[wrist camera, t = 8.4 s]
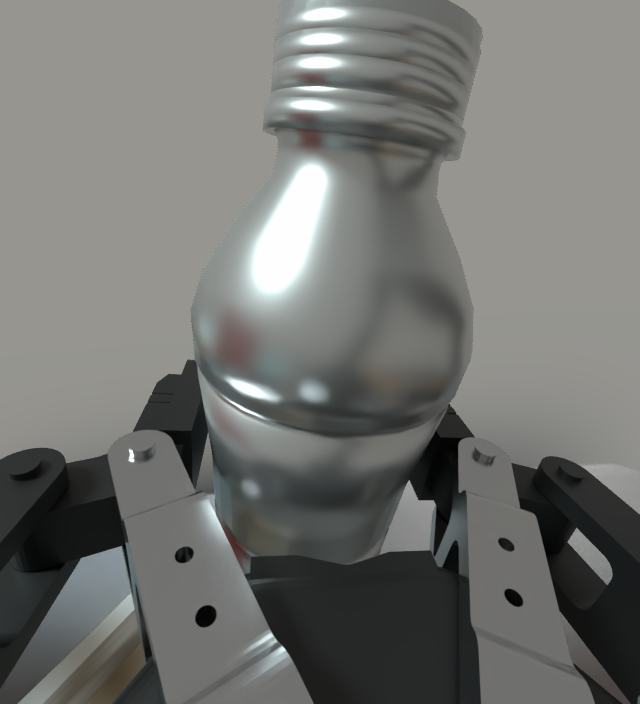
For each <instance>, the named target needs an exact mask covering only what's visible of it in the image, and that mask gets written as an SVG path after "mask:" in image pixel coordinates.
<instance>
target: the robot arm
mask: <svg viewBox="0 0 640 704" xmlns="http://www.w3.org/2000/svg"><path fill="white" fill-rule="evenodd" d="M207 434H208V427H207V422H206V416H205V411H204V405H203V400H202V394H201V389H200V383H199V378H198V370H197V363H196V361H195V360H187V362H186V365H185V367H184V370H183V372H182V374H181V375H177V374H168V375H167V376H166V377H164V378H163V379H161V380H160V381H159V382H157V384H156V386H155V388H154V390H153V392H152V395H151V396H150V398H149V400H148V403H147V404H146V406H145V408H144V410H143V412H142V414H141V416H140V418H139V420H138V423H137V424H136V427H135V428H134V430H133V432H132V433H129V434H127V435H124V436H123V437H121V438H119V439H118V440H116V441H115V442H114V443H113V444H112V445H111V447H110V449H109V451H108V454H106V455H103V456H100V457H96V458H92V459H86V460H82V461H76V462H71V463H66V462H65V458H64V456H63V455H62V454H61V453H60V452H59V451H57V450H54V449H49V448H33V449H28V450H23V451H20V452H16V453H14V454H11V455H9V456H6V457H5V458H3V459H1V460H0V689H1V687H2V685H3V684H4V682H5V680H6V679H7V677H8V676H9V674H10V672H11V671H12V669H13V668H14V666H15V664H16V663H17V661H18V659H19V658H20V656H21V655H22V653H23V651H24V650H25V648H26V646H27V645H28V643H29V642H30V640H31V638H32V637H33V635H34V634H35V632H36V630H37V629H38V627H39V625H40V624H41V622H42V621H43V619H44V617H45V616H46V614H47V612H48V611H49V609H50V608H51V606H52V604H53V603H54V601H55V599H56V598H57V596H58V595H59V593H60V591H61V590H62V588H63V587H64V585H65V583H66V582H67V580H68V578H69V577H70V575H71V574H72V572H73V570H74V569H75V567H76V565H77V564H78V562H79V561H80V559H81V558H82V557H86V556H89V555H92V554H96V553H99V552H102V551H106V550H109V549H112V548H116V547H119V546H122V551H123V556H124V561H125V566H126V570H127V575H128V580H129V585H130V589H131V594H132V599H133V604H134V609H135V614H136V619H137V625H138V631H139V636H140V641H141V647H142V652H143V656H144V661H145V665H144V667H143V668H142V669H141V670H140V671H139V673H138V674H137V675H136V676H135V677H134V678H133V680H132V681H131V682H130V683H129V684H128V686H127V687H126V688H125V689H124V690H123V692H122V693H121V694H120V695H119V696H118V697H117V699H116V700H115V701H114V702H113V703H112V704H622V703H621V702H619V701H618V700H617V699H616V698H615V697H613V696H612V695H611V694H610V693H609V692H607V691H606V690H605V689H604V688H602V687H601V686H600V685H599V684H598V683H596V682H595V681H594V680H593V679H592V678H590V677H589V676H588V675H587V674H586V673H584V672H583V671H582V670H581V669H580V668H578V667H577V666H576V665H575V664H574V663H572V660H571V657H570V653H569V649H568V644H567V640H566V636H565V632H564V628H563V624H562V620H561V616H560V612H561V613H562V614H563V616H564V617H565V618H566V620H567V621H568V622H569V624H570V625H571V626H572V628H573V629H574V630H575V631H576V633H577V634H578V635H579V637H580V638H581V639H582V641H583V642H584V643H585V644H586V646H587V647H588V648H589V650H590V651H591V652H592V654H593V655H594V656H595V657H596V659H597V660H598V661H599V663H600V664H601V665H602V667H603V668H604V669H605V670H606V672H607V673H608V674H609V676H610V677H611V678H612V680H613V681H614V682H615V683H616V685H617V686H618V687H619V689H620V690H621V691H622V693H623V694H624V695H625V697H626V698H627V699H628V700H629V702H630V703H631V704H640V514H638V513H637V512H636V511H635V510H634V509H632V508H631V507H630V506H629V505H628V504H626V503H625V502H624V501H623V500H622V499H620V498H619V497H618V496H617V495H616V494H614V493H613V492H612V491H611V490H610V489H608V488H607V487H606V486H605V485H604V484H602V483H601V482H600V481H599V480H598V479H596V478H595V477H594V476H593V475H592V474H590V473H589V472H588V471H587V470H585V469H584V468H582V467H581V466H579V465H577V464H576V463H573V462H571V461H569V460H566V459H563V458H559V457H553V456H549V457H545V458H543V459H542V461H541V463H540V464H539V466H538V468H537V469H534V468H530V467H525V466H521V465H517V464H513V463H511V460H510V458H509V456H508V455H507V454H506V453H505V452H504V451H503V450H502V449H501V448H500V447H498V446H496V445H495V444H493V443H491V442H489V441H486V440H483V439H480V438H475V437H474V435H473V434H472V433H471V432H470V430H469V429H468V428H467V426H466V425H465V424H464V422H463V421H462V420H461V418H460V417H459V416H458V415H456V412H455V411H454V409H453V408H452V407H450V404H449V405H448V409H447V411H446V413H445V414H444V416H443V418H442V420H441V422H440V424H439V425H438V427H437V429H436V431H435V433H434V435H433V437H432V438H431V440H430V442H429V444H428V446H427V448H426V449H425V451H424V453H423V455H422V457H421V459H420V460H419V462H418V464H417V466H416V468H415V470H414V471H413V473H412V475H411V477H410V479H409V480H410V482H411V484H412V486H413V489H414V491H415V493H416V495H417V497H418V500H434V502H435V504H436V505H435V508H434V511H433V514H432V524H431V537H430V549H429V551H402V552H388V553H385V554H382V555H378V556H375V557H372V558H369V559H366V560H363V561H360V562H357V563H354V564H350V565H343V564H338V563H333V562H329V561H324V560H319V559H315V558H310V557H305V556H300V555H284V556H254V557H251V563H250V573H247V574H244V573H243V571H242V569H241V567H240V565H239V563H238V560H237V558H236V556H235V554H234V552H233V550H232V548H231V546H230V543H229V541H228V539H227V537H226V535H225V533H224V531H223V529H222V527H221V524H220V522H219V520H218V518H217V516H216V514H215V512H214V510H213V507H212V505H211V503H210V501H209V499H208V497H207V495H206V494H205V493H204V491H199V492H196V491H195V489H196V485H197V480H198V476H199V471H200V466H201V462H202V457H203V453H204V448H205V443H206V439H207ZM576 527H577V528H578V529H579V530H580V531H581V532H582V533H583V534H584V535H585V536H586V538H587V539H588V540H589V541H590V542H591V543H592V544H593V545H594V546H595V547H596V548H597V549H598V550H599V551H600V552H601V553H602V554H603V555H604V556H605V557H606V558H607V560H608V561H609V563H610V565H611V568H612V572H613V577H612V580H611V581H610V583H609V584H608V585H606V584H605V583H604V581H603V580H602V579H601V578H600V577H599V576H598V575H597V574H596V573H595V572H594V571H593V570H592V569H591V567H590V566H589V565H588V564H587V563H586V562H585V561H584V560H583V559H582V558H581V557H580V556H579V554H578V553H577V552H576V551H575V550H574V549H573V548H572V547H571V546H570V545H569V544H568V543H567V542H568V540H569V539H570V537H571V535H572V534H573V532H574V531H575V529H576ZM559 611H560V612H559Z"/></svg>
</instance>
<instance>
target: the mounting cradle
mask: <svg viewBox="0 0 640 704" xmlns="http://www.w3.org/2000/svg"><path fill="white" fill-rule="evenodd" d="M144 665H145V661H144V656H143V652H142V647H141V641H140V636H139V631H138V625H137V619H136V614H135V609H134V604H133V599H132V594H131V593H130V594H129V595H128V596H127V597H126V598H125V599H124V600H123V601H122V602H121V603H120V604H119V605H118V606H117V607H116V608H115V609H114V610H113V611H112V612H111V613H110V614H109V615H108V616H107V617H106V618H105V619H104V620H103V621H102V622H101V623H100V624H99V625H98V626H97V627H96V628H94V629H93V630H92V631H91V632H90V633H89V634H88V635H87V636H86V637H85V638H84V639H83V640H82V641H81V642H80V643H79V644H78V645H77V646H76V647H75V648H74V649H73V650H72V651H71V652H70V653H69V654H68V655H67V656H66V657H65V658H64V659H63V660H62V661H61V662H60V663H59V664H58V665H57V666H56V667H55V668H54V669H53V670H51V671H50V672H49V673H48V674H47V675H46V676H45V677H44V678H43V679H42V680H41V681H40V682H39V683H38V684H37V685H36V686H35V687H34V688H33V689H32V690H31V691H30V692H29V693H28V694H27V695H26V696H25V697H24V698H23V699H22V700H21V701H20V702H19V703H18V704H112V703H113V702H114V701H115V700H116V699H117V697H118V696H119V695H120V694H121V693H122V692H123V690H124V689H125V688H126V687H127V686H128V684H129V683H130V682H131V681H132V680H133V678H134V677H135V676H136V675H137V674H138V673H139V671H140V670H141V669H142V668H143V667H144Z"/></svg>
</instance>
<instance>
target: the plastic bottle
mask: <svg viewBox="0 0 640 704" xmlns="http://www.w3.org/2000/svg"><path fill="white" fill-rule="evenodd" d="M482 37H483V36H482V28H481V27H480V25H479V24H478V22H477V21H476V19H475V18H474V17H473V16H471V15H470V14H469V13H468V12H467V11H465V10H464V9H462V8H461V7H459V6H457V5H455V4H454V3H452V2H450V1H448V0H282V2H281V3H280V5H279V15H278V18H277V20H276V28H275V44H274V57H273V58H274V59H273V74H272V87H271V99H269V100H268V101H266V102H265V110H264V124H263V131H265V132H266V133H269V134H271V135H275V136H277V138H278V151H277V155H276V159H275V164H274V168H273V172H272V174H271V175H270V176H269V177H268V179H267V180H266V181H265V182H264V184H263V185H262V186H261V187H260V189H259V190H258V191H257V192H256V194H255V195H254V196H253V197H252V199H251V200H250V201H249V202H248V203H247V205H246V206H245V207H244V208H243V210H242V211H241V212H240V213H239V215H238V216H237V217H236V219H235V220H234V221H233V223H232V224H231V225H230V227H229V228H228V230H227V232H226V233H225V235H224V236H223V238H222V239H221V241H220V242H219V244H218V246H217V247H216V249H215V250H214V252H213V253H212V255H211V256H210V258H209V260H208V261H207V263H206V265H205V266H204V268H203V269H202V273H201V276H200V280H199V283H198V286H197V290H196V293H195V296H194V300H193V304H192V307H191V323H192V331H193V341H194V353H195V354H194V355H195V361H196V363H197V370H198V378H199V383H200V389H201V394H202V400H203V405H204V411H205V416H206V422H207V427H208V433H209V438H210V443H211V449H212V456H213V473H214V489H215V508H216V516H217V518H218V520H219V522H220V524H221V527H222V529H223V531H224V533H225V535H226V537H227V539H228V541H229V543H230V546H231V548H232V550H233V552H234V554H235V556H236V558H237V560H238V563H239V565H240V567H241V569H242V571H243V573H244V574H247V573H250V563H251V557H254V556H284V555H300V556H305V557H310V558H315V559H319V560H324V561H329V562H333V563H338V564H343V565H350V564H354V563H357V562H360V561H363V560H366V559H369V558H372V557H375V556H378V555H380V552H381V547H382V545H383V542H384V540H385V537H386V534H387V531H388V529H389V526H390V524H391V522H392V519H393V517H394V514H395V512H396V509H397V507H398V504H399V501H400V499H401V496H402V494H403V491H404V489H405V486H406V484H407V482H408V481H409V479H410V477H411V475H412V473H413V471H414V470H415V468H416V466H417V464H418V462H419V460H420V459H421V457H422V455H423V453H424V451H425V449H426V448H427V446H428V444H429V442H430V440H431V438H432V437H433V435H434V433H435V431H436V429H437V427H438V425H439V424H440V422H441V420H442V418H443V416H444V414H445V413H446V411H447V409H448V405H449V403H450V402H451V400H452V399H453V398H454V397H455V394H456V392H457V390H458V387H459V385H460V382H461V380H462V377H463V376H464V373H465V371H466V369H467V367H468V365H469V362H470V359H471V354H472V342H473V305H472V302H471V298H470V294H469V290H468V287H467V283H466V279H465V275H464V272H463V268H462V264H461V260H460V257H459V255H458V252H457V250H456V247H455V244H454V242H453V239H452V237H451V234H450V231H449V229H448V226H447V223H446V221H445V218H444V216H443V213H442V210H441V208H440V205H439V203H438V200H437V197H436V196H437V185H438V174H439V170H440V166H441V163H442V162H443V161H454V160H458V159H459V158H460V154H461V150H462V147H463V142H464V139H465V135H466V132H465V130H464V129H463V128H462V124H463V120H464V116H465V112H466V108H467V104H468V101H469V96H470V92H471V89H472V85H473V81H474V77H475V73H476V69H477V65H478V62H479V58H480V54H481V49H480V44H481V41H482Z"/></svg>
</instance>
